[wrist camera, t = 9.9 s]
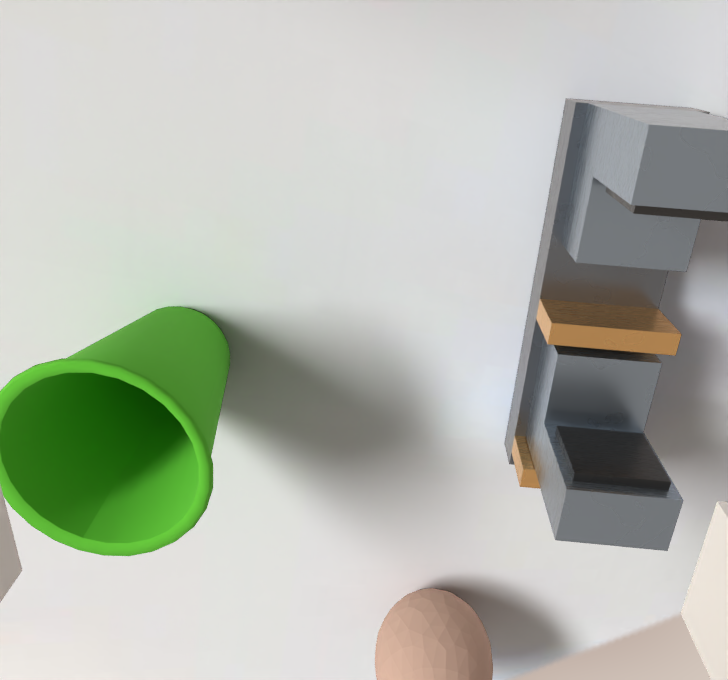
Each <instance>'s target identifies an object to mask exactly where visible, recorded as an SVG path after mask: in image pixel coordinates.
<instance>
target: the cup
mask: <svg viewBox="0 0 728 680" xmlns="http://www.w3.org/2000/svg"><path fill="white" fill-rule="evenodd" d="M229 366H230V351H229V347H228V343H227V340H226V339H225V337H224V335H223V333H222V331H221V329H220V328H219V327H218V326H217V325H216V324H215V322H214V321H212V320H211V319H210V318H209V317H207V316H206V315H205V314H202V313H200V312H198V311H196V310H194V309H189V308H185V307H164V308H160V309H157V310H155V311H153V312H151V313H149V314H147V315H146V316H144V317H142V318H140V319H138V320H136V321H134V322H133V323H131V324H129V325H127V326H125V327H123V328H122V329H120V330H118V331H116V332H114V333H112V334H110V335H109V336H107V337H105V338H103V339H101V340H99V341H98V342H96V343H94V344H92V345H90V346H88V347H86V348H85V349H83V350H81V351H79V352H77V353H75V354H74V355H72V356H70V357H68V358H66V359H59V360H54V361H50V362H46V363H42V364H38V365H35V366H33V367H31V368H29V369H28V370H26V371H24V372H22V373H20V374H19V375H17V376H15V377H13V378H12V379H11V380H10V381H9V383H8V384H7V385H6V386H5V387H4V388H3V389H2V390H1V391H0V485H1V489H2V493H3V496H4V497H5V499H6V500H7V502H8V503H9V504H10V506H11V507H12V508H13V509H14V510H15V511H16V512H17V513H18V514H19V515H20V516H21V517H23V518H24V519H25V520H26V521H27V522H28V523H29V524H30V525H31V526H33V527H34V528H36V529H37V530H39V531H41V532H42V533H44V534H45V535H47V536H49V537H50V538H52V539H53V540H55V541H58V542H60V543H63V544H65V545H68V546H70V547H73V548H75V549H77V550H81V551H86V552H91V553H95V554H100V555H111V556H131V555H137V554H142V553H147V552H152V551H155V550H157V549H159V548H162V547H164V546H166V545H168V544H171V543H173V542H175V541H177V540H178V539H179V538H180V537H182V536H183V535H184V534H185V533H187V532H188V531H189V530H190V529H192V528H193V527H194V526H195V525H196V523H197V522H198V520H199V519H200V517H201V516H202V514H203V513H204V512H205V510H206V509H207V505H208V502H209V499H210V496H211V493H212V489H213V462H212V459H211V454H212V449H213V444H214V439H215V434H216V429H217V424H218V420H219V415H220V410H221V405H222V400H223V395H224V390H225V385H226V380H227V376H228V371H229Z"/></svg>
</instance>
